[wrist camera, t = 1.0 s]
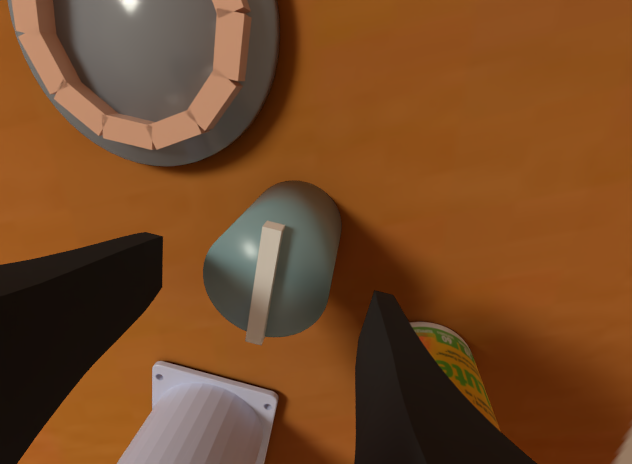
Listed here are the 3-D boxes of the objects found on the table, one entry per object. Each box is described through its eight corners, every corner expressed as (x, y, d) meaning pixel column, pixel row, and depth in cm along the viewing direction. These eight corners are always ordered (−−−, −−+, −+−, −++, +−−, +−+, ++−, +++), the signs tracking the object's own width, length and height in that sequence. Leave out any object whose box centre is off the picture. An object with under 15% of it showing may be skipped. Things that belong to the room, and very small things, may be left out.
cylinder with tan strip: (330, 275, 18) (312, 359, 12) (247, 254, 18) (194, 327, 12) (351, 191, 16) (342, 246, 10) (258, 168, 16) (202, 211, 11)
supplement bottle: (487, 332, 18) (606, 584, 9) (451, 405, 20) (518, 665, 11) (382, 307, 18) (394, 527, 9) (359, 382, 20) (350, 617, 11)
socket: (260, 186, 16) (249, 196, 15) (42, 133, 17) (11, 138, 15) (303, -122, 12) (293, -151, 10) (1, -180, 12) (-49, -216, 11)
